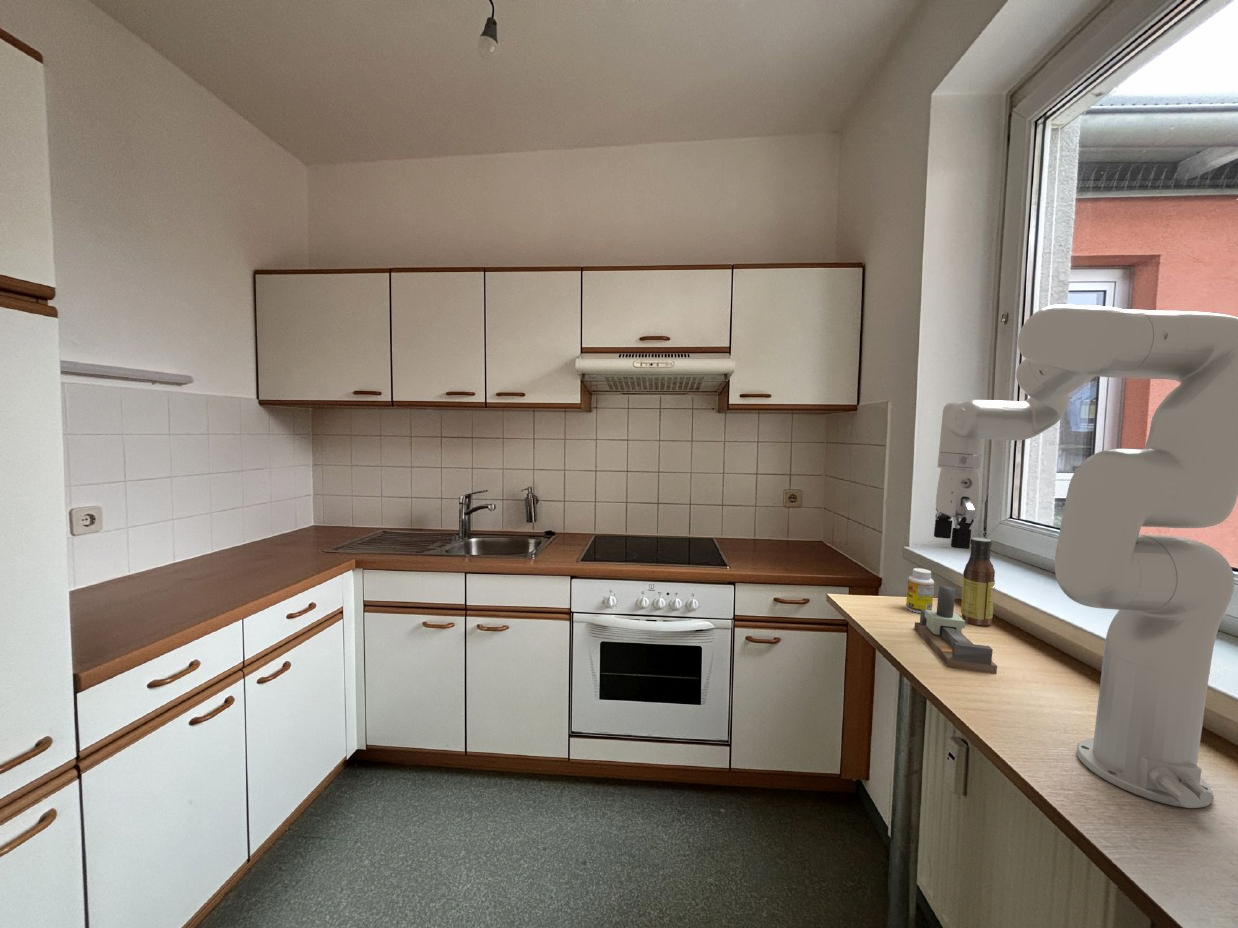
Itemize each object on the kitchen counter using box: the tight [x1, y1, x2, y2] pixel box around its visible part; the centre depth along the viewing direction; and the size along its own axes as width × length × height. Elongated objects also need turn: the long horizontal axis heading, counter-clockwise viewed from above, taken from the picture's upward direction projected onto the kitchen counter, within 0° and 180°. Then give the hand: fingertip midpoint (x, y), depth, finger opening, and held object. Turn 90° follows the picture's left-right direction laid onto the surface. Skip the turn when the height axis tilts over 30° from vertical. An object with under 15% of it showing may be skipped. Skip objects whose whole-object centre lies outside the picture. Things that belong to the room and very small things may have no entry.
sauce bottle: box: [960, 537, 996, 627], centre depth 125 cm, size 6×6×20 cm
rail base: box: [914, 610, 998, 674], centre depth 108 cm, size 20×8×4 cm, turn 167°
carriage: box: [925, 585, 966, 635], centre depth 113 cm, size 5×6×10 cm
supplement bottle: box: [905, 567, 935, 614], centre depth 131 cm, size 6×6×10 cm
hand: (950, 542), depth 112 cm, fingers open, 9 cm apart
